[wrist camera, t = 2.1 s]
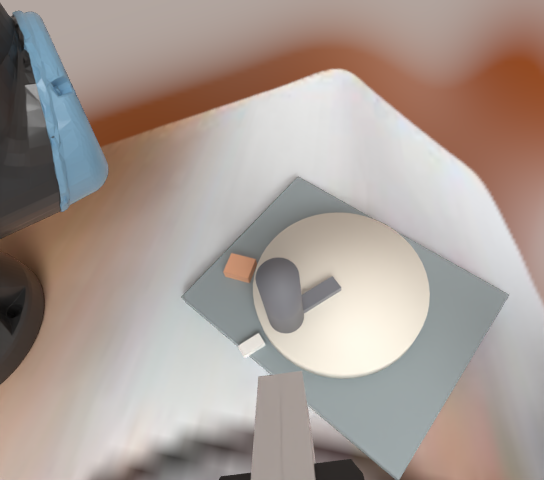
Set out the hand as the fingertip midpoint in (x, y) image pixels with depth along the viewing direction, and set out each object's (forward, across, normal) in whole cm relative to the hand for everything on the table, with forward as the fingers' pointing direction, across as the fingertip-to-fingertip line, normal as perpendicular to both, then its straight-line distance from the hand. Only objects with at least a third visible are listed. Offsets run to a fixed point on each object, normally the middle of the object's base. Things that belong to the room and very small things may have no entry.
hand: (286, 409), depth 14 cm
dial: (+20, +4, -4) cm, 21 cm away
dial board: (+21, +4, -5) cm, 22 cm away
